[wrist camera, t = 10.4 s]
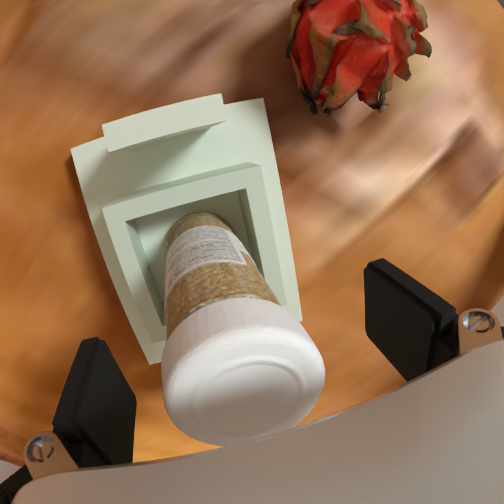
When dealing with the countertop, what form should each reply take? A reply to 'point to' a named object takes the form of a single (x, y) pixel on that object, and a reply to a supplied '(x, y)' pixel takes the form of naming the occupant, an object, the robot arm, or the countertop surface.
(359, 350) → the countertop surface
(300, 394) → the sprinkles bottle
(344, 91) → the dragon fruit
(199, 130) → the caddy
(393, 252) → the countertop surface
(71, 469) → the robot arm
